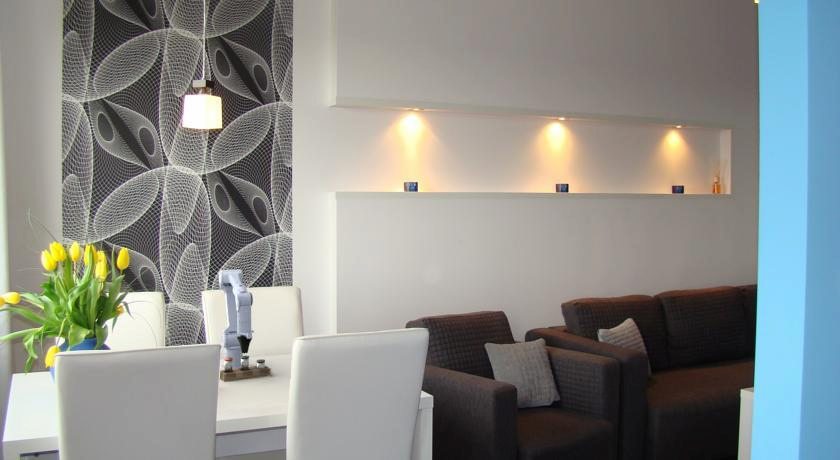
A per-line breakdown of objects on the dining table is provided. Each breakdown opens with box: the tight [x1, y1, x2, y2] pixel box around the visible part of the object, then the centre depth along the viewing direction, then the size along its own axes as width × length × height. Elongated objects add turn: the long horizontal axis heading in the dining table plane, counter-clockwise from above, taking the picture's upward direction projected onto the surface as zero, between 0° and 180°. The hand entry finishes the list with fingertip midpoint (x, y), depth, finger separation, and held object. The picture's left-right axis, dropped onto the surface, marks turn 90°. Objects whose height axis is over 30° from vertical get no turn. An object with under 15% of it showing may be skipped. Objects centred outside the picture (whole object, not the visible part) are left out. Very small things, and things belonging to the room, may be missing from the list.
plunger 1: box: [240, 355, 250, 370], centre depth 309 cm, size 4×4×6 cm
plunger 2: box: [256, 358, 266, 369], centre depth 313 cm, size 4×4×6 cm
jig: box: [219, 365, 272, 382], centre depth 309 cm, size 8×20×3 cm, turn 121°
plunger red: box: [223, 357, 233, 372], centre depth 306 cm, size 4×4×6 cm
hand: (244, 353), depth 309 cm, fingers closed
